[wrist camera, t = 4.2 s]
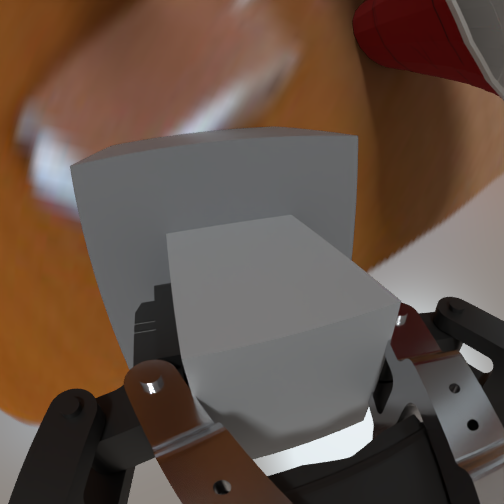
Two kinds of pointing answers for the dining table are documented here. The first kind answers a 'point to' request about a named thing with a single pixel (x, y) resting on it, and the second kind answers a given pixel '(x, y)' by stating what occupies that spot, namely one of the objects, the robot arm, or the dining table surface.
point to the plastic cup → (436, 38)
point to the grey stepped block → (244, 272)
